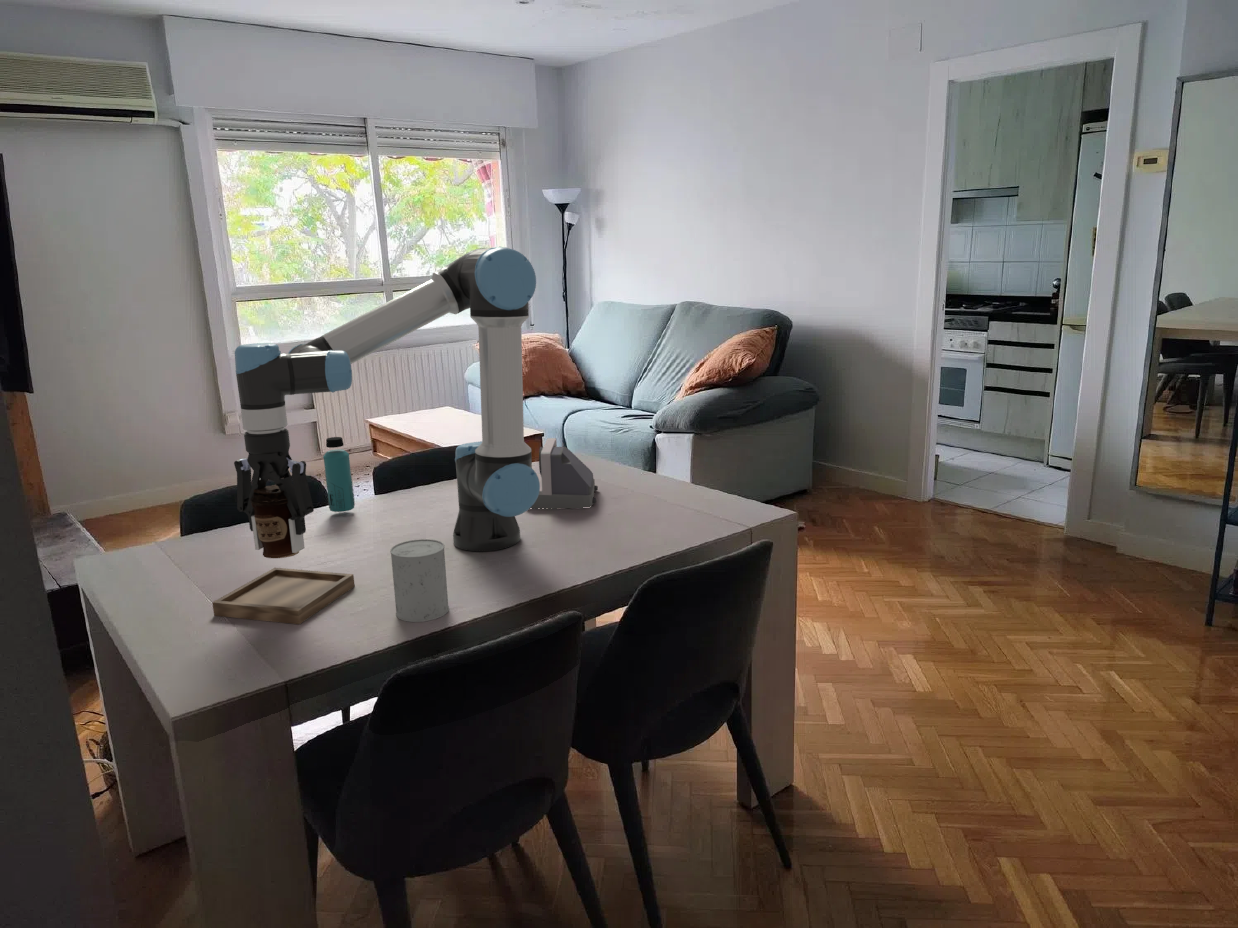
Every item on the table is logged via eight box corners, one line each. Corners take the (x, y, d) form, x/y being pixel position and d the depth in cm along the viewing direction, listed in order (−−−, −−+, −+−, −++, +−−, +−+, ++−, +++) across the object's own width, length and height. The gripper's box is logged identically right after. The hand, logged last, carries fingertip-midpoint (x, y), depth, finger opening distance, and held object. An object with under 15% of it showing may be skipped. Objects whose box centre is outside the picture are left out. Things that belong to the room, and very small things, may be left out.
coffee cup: (287, 563, 154) (279, 495, 150) (247, 561, 155) (238, 493, 152) (313, 547, 162) (306, 482, 159) (274, 545, 164) (267, 480, 160)
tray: (354, 586, 167) (353, 574, 166) (299, 624, 150) (297, 610, 150) (276, 579, 172) (274, 567, 171) (214, 615, 155) (212, 602, 154)
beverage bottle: (361, 511, 216) (353, 435, 212) (343, 519, 211) (334, 441, 206) (341, 509, 219) (334, 434, 214) (323, 516, 213) (314, 439, 208)
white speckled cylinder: (400, 602, 159) (395, 540, 156) (451, 599, 160) (447, 538, 157) (391, 623, 150) (385, 558, 147) (445, 620, 151) (441, 555, 148)
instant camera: (534, 488, 236) (532, 435, 233) (606, 490, 233) (605, 437, 229) (512, 510, 216) (509, 453, 213) (591, 512, 213) (589, 455, 209)
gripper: (326, 427, 154) (338, 546, 159) (232, 423, 159) (247, 538, 164) (301, 435, 147) (315, 559, 152) (204, 431, 152) (220, 551, 157)
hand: (280, 548), depth 158 cm, fingers closed on coffee cup, 7 cm apart
